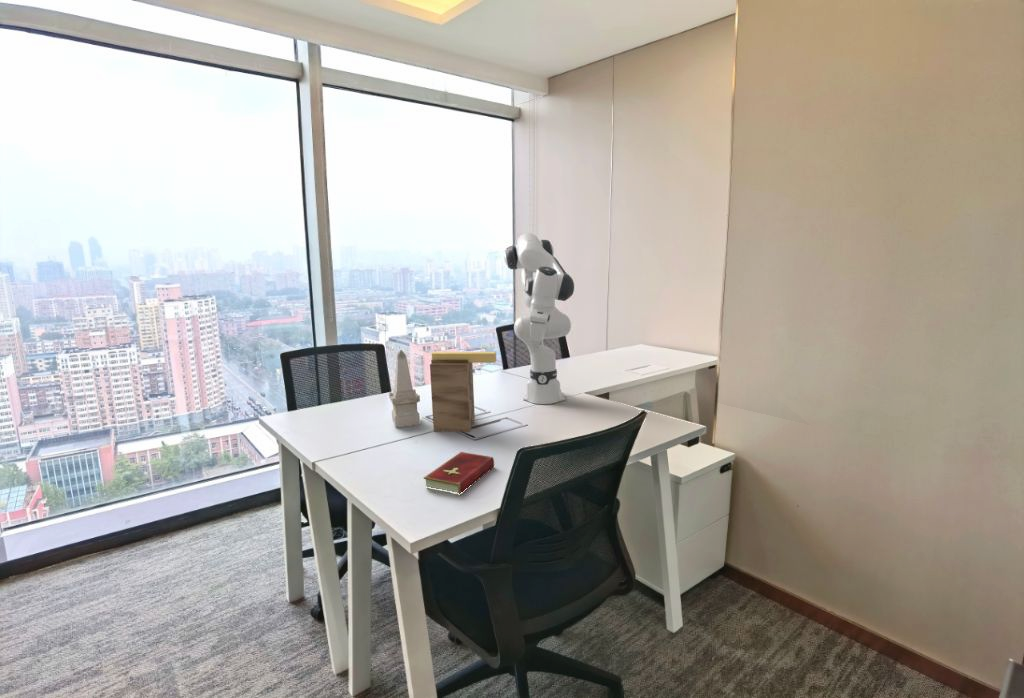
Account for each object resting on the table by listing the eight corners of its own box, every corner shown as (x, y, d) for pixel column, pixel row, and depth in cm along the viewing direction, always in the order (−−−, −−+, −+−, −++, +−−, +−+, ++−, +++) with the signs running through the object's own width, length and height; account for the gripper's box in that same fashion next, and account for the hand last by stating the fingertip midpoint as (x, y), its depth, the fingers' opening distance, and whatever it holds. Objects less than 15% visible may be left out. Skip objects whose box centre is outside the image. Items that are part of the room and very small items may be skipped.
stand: (440, 422, 209) (436, 355, 204) (474, 423, 207) (472, 355, 202) (433, 430, 199) (429, 361, 194) (469, 431, 197) (466, 361, 192)
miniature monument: (421, 424, 207) (416, 350, 201) (394, 428, 203) (389, 352, 198) (416, 417, 216) (412, 346, 211) (391, 420, 213) (385, 348, 207)
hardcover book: (494, 468, 164) (494, 456, 164) (460, 497, 146) (459, 483, 145) (461, 463, 170) (461, 450, 169) (424, 490, 151) (423, 476, 150)
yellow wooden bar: (434, 360, 201) (434, 351, 200) (496, 360, 198) (496, 351, 197) (432, 362, 197) (431, 353, 197) (494, 362, 194) (494, 353, 194)
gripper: (537, 304, 202) (533, 338, 206) (529, 317, 182) (524, 354, 187) (553, 307, 201) (548, 341, 205) (546, 320, 182) (541, 357, 186)
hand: (537, 347), depth 196 cm, fingers open, 8 cm apart
